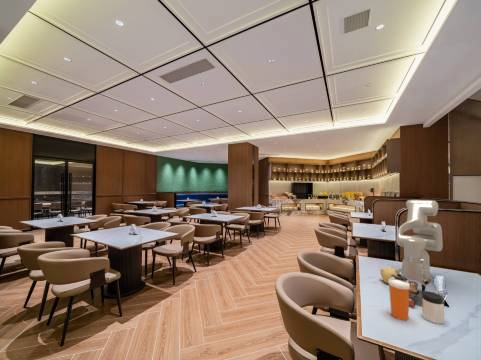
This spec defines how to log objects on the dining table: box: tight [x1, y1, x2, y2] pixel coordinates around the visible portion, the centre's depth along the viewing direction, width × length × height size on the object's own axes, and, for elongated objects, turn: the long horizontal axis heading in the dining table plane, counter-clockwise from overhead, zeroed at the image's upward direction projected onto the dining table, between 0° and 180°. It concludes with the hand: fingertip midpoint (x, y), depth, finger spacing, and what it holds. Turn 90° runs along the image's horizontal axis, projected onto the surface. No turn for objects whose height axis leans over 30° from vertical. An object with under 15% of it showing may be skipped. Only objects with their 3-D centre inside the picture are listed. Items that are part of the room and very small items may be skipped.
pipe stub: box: [407, 280, 419, 294], centre depth 124 cm, size 5×5×10 cm
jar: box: [421, 290, 445, 325], centre depth 106 cm, size 9×8×12 cm
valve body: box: [409, 288, 422, 309], centre depth 122 cm, size 17×11×6 cm, turn 133°
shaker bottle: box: [388, 274, 410, 321], centre depth 108 cm, size 9×9×20 cm
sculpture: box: [380, 266, 402, 285], centre depth 146 cm, size 11×12×11 cm
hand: (412, 288), depth 124 cm, fingers open, 8 cm apart
